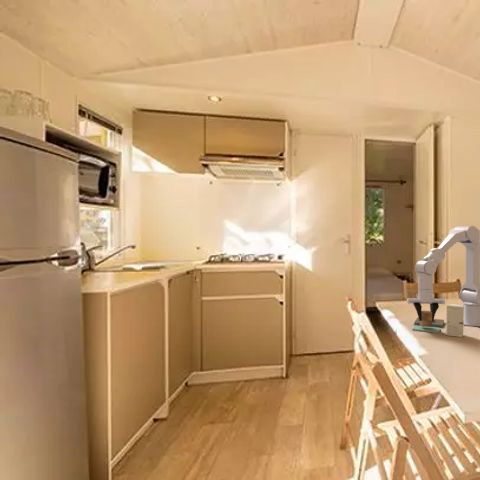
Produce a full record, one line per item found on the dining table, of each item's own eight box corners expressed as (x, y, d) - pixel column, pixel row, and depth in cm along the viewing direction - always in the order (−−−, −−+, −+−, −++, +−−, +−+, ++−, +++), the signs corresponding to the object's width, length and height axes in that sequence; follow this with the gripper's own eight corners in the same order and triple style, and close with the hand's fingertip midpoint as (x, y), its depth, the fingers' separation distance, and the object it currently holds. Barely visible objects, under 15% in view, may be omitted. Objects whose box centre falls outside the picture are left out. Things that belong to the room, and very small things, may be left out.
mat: (440, 329, 164) (440, 327, 164) (438, 333, 158) (438, 331, 158) (414, 326, 169) (414, 325, 169) (412, 330, 163) (412, 328, 163)
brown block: (429, 324, 165) (429, 310, 165) (432, 326, 161) (432, 312, 161) (419, 324, 166) (419, 310, 166) (421, 326, 162) (421, 312, 162)
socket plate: (443, 322, 175) (443, 319, 175) (441, 327, 166) (441, 325, 166) (417, 319, 181) (417, 317, 181) (414, 325, 172) (414, 322, 172)
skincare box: (446, 335, 154) (446, 305, 153) (446, 333, 158) (446, 303, 157) (464, 337, 151) (463, 306, 150) (463, 334, 154) (463, 304, 154)
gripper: (441, 287, 165) (442, 318, 165) (405, 287, 169) (406, 317, 169) (446, 290, 158) (446, 322, 159) (408, 289, 162) (409, 321, 162)
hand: (426, 320), depth 163 cm, fingers closed on brown block, 4 cm apart
